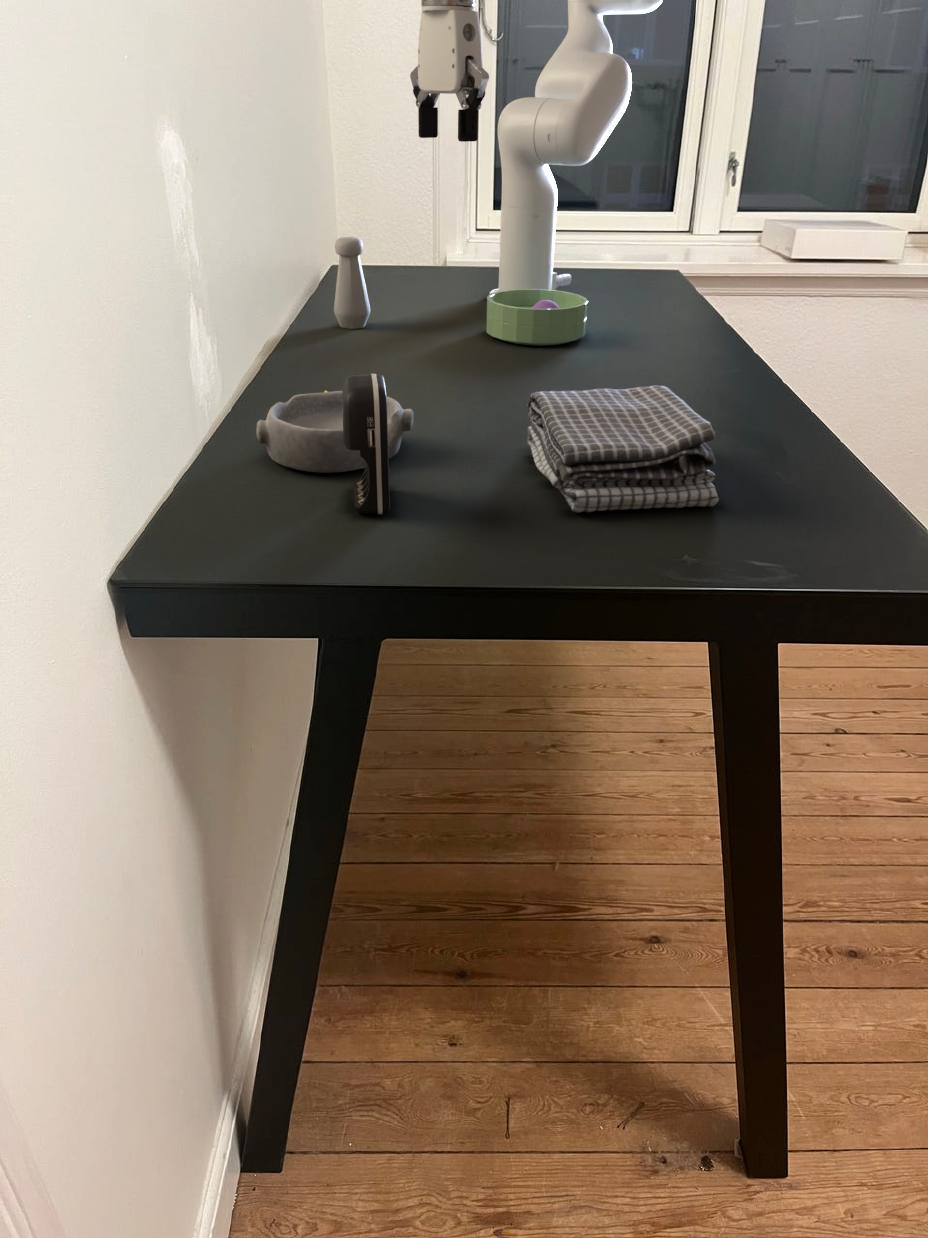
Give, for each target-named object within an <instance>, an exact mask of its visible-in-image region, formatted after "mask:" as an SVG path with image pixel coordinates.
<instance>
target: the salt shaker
mask: <svg viewBox="0 0 928 1238" xmlns="http://www.w3.org/2000/svg"><path fill="white" fill-rule="evenodd" d="M334 250H335V254H336V255H338V265H337V275H336V283H335V296H334V304H333V314H334V317H335V318H336V320H337V322H338V324H339V326H340V327H341V328H342V329H350V330H351V329H352V330H355V329H363V328H365V326H366V325H367V321H368V319H369V317H370V315H371V310H372V309H371V304H370V299H369V295H368V291H367V285H366V281H365V275H364V271H363V266H362V261H361V257H360V256H361V255H363V253H364V243H363V241H362V239H361V238H358V237H356V236H342V237H338V238H337V239H336V240H335V242H334Z"/></svg>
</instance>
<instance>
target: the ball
mask: <svg viewBox="0 0 928 1238" xmlns="http://www.w3.org/2000/svg"><path fill="white" fill-rule="evenodd" d="M532 308H533V309H555V308H559V306H558V305H557V304H556V303H554V302H553V301H550V300H542V301H539V302H538V303H536V304H535V305H534V306H533V307H532Z"/></svg>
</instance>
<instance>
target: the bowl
mask: <svg viewBox="0 0 928 1238" xmlns="http://www.w3.org/2000/svg"><path fill="white" fill-rule="evenodd" d="M542 300H550V301H553V302H554V303H556V304H557V305H558V306H559V308H555V309H533V308H532V307H533V306H534V305H535V304H536V303H538V302H539V301H542ZM588 306H589V300H588V299H587V297H585V296H583V295H581V294H577V293H574V292H570V291H563V290H557V289H556V290H546V289H513V290H505V291H498V292H495V293H491V294H490V293H489V294H488V295H487V296H486V311H485V315H486V316H485V331H486V334H488V335H489V336H490V337H492V338H496V339H499V340H501V341H504V342H506V343H509V344H511V343H512V344H516V345H523V346H556V345H563V344H567V343H570V342H574V341H577V340H579V339H582V338H584V336H585V335H586V330H587V319H588V318H587V317H588Z"/></svg>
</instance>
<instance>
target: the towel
mask: <svg viewBox="0 0 928 1238" xmlns="http://www.w3.org/2000/svg"><path fill="white" fill-rule="evenodd" d="M526 411H527V413H528V414H527V420H528V421H529V424H530V425H529V426H528V427H527V428H526V430H527V437H526V443H527V445H528V447H529V449H530V451H531V454H532V457H533V462H534V464H535V466H536V468H537V470H538V471H539V472H540V473H541V474H542V475H543V476H544V477H545V478H547V479H548V481H549V482H550V483H551V485H552V486H553V487H554V488H555V489H557V490H559V492H560V493H561V495H562V496H563V497H564V499H565V501H566V502H567V505H568V507H570V510H571V511H572V512H573V513H578V514H579V513H583V512H585V513H593V512H605V511H616V510H620V511H627V510H640V509H642V510H649V509H652V508H653V509H661V508H667V509H672V508H675V509H683V508H684V507H685V508H686V507H688V508H693V507H697V508H698V507H701V508H706V507H714V506H715V505H717V504H718V503H719V501H720V498H719V496H718V492H717V489H716V486H715V485H714V483H713V481H715V479H717V475H716V474H715V472H714V471H711V470H710V469H711V468H713V467H714V466H715V465H716V463H717V461H716V458H715V455H714V451H713V449H712V448H711V447H709V445H708V444H707V443H708V442H711V441H713V440H714V439H716V438H717V437H718V432H717V431H716V430H715V429H713V426H712V422H710V421H709V420H707V419H705V418H704V417H703V416H702V415H700V414H699V413H698V412H695V410H694V409H693V408H692V407H691V406H690V405H689V404H688V402H686V400H684V399H682V398H680V396H678V395H677V394H676V393H674V392H673V390H672V389H671V388H669V387H668V386H666V385H656V384H652V385H649V386H637V387H629V388H626V389H624V388H617V389H614V388H611V387H610V388H595V389H584V390H560V391H559V390H550V391H547V390H541V391H534V392H532V393H530V394H529V396H528V400H527V404H526Z"/></svg>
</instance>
